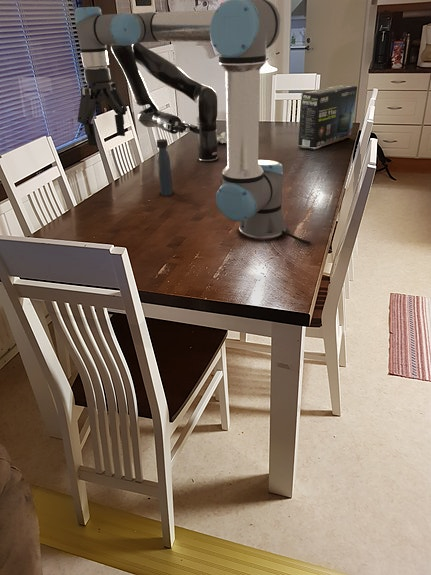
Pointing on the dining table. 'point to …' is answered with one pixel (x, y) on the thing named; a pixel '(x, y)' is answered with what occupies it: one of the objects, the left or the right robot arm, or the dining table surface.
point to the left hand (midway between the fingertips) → (191, 130)
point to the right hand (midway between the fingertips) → (107, 140)
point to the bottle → (164, 172)
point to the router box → (326, 115)
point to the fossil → (222, 137)
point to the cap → (162, 143)
